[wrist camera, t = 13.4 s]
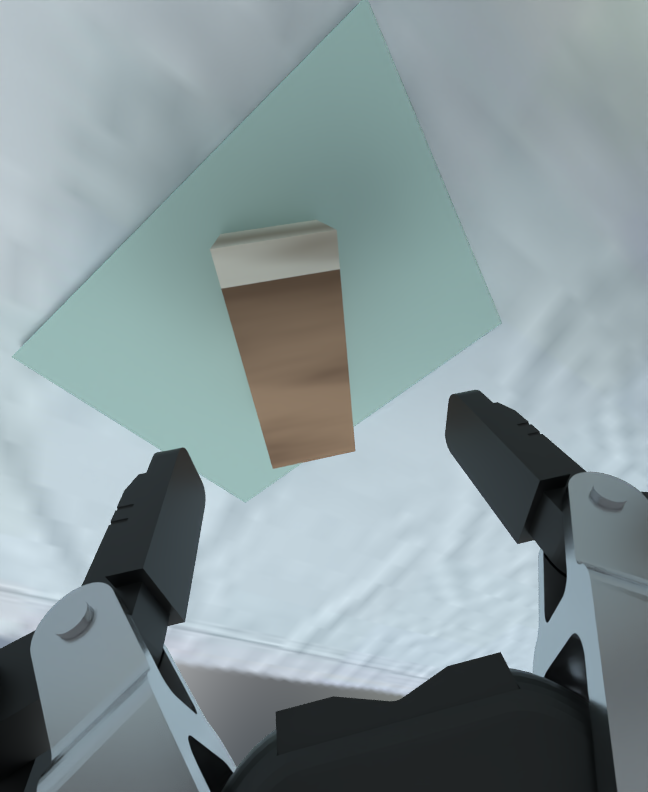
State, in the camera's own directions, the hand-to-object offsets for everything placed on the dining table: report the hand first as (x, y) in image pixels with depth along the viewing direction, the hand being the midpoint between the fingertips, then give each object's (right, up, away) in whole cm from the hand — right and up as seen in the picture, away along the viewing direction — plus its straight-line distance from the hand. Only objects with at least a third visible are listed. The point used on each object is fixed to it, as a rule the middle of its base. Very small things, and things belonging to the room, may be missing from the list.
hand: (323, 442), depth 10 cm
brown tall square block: (-1, -1, +11) cm, 12 cm away
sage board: (-3, +6, +11) cm, 13 cm away
